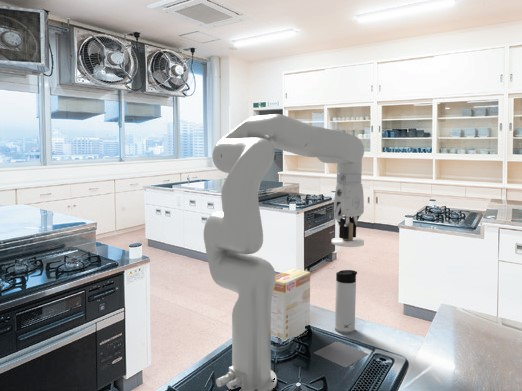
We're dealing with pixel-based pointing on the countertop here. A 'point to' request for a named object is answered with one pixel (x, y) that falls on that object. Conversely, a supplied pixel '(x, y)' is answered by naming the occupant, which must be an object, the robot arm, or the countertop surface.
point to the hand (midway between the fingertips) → (347, 237)
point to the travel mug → (345, 301)
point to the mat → (341, 354)
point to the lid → (348, 242)
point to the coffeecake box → (290, 304)
